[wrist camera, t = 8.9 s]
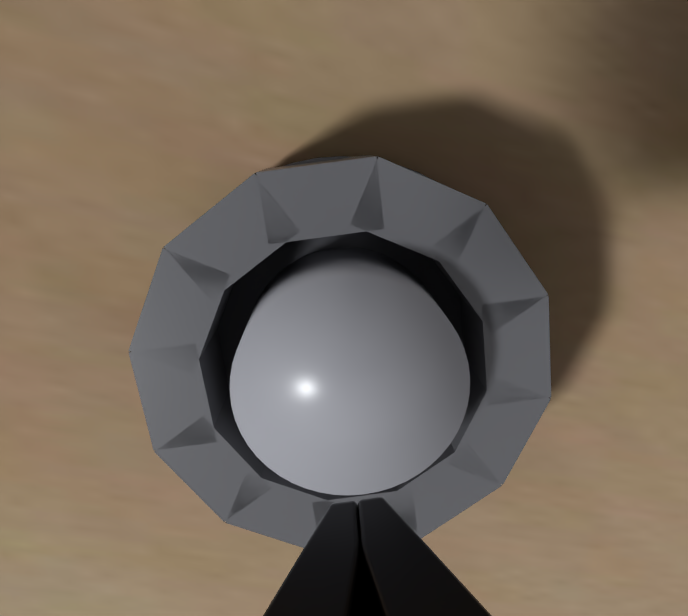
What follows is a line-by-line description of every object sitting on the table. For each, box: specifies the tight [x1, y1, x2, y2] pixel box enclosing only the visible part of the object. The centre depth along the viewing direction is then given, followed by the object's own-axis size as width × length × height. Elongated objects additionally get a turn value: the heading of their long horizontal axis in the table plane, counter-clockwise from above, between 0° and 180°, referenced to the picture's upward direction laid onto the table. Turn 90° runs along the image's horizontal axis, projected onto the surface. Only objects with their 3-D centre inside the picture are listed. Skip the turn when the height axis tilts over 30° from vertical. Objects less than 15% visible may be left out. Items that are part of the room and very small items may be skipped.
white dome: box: [230, 248, 470, 495], centre depth 15 cm, size 6×6×4 cm
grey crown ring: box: [129, 155, 551, 548], centre depth 16 cm, size 11×11×3 cm
